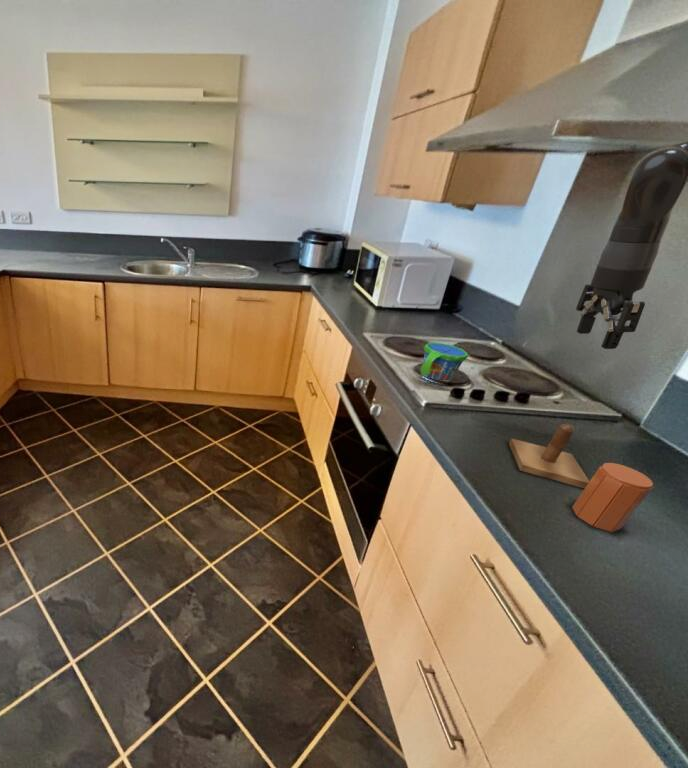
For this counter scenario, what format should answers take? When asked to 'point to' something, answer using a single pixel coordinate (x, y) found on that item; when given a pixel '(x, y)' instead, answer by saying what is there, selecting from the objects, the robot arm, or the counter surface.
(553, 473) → the stand
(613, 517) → the terracotta cup
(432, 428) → the counter surface
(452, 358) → the snack cup
